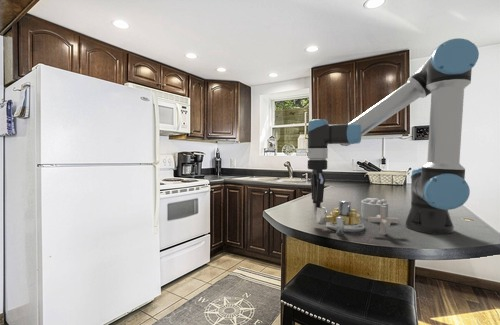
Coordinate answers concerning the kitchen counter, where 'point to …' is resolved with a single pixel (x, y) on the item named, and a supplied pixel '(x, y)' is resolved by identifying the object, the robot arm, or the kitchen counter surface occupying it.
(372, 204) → the lumpy-topped squat cylinder
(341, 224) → the stop pin
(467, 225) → the kitchen counter surface
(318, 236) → the kitchen counter surface
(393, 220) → the pipe connector
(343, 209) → the cap flange
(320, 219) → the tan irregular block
